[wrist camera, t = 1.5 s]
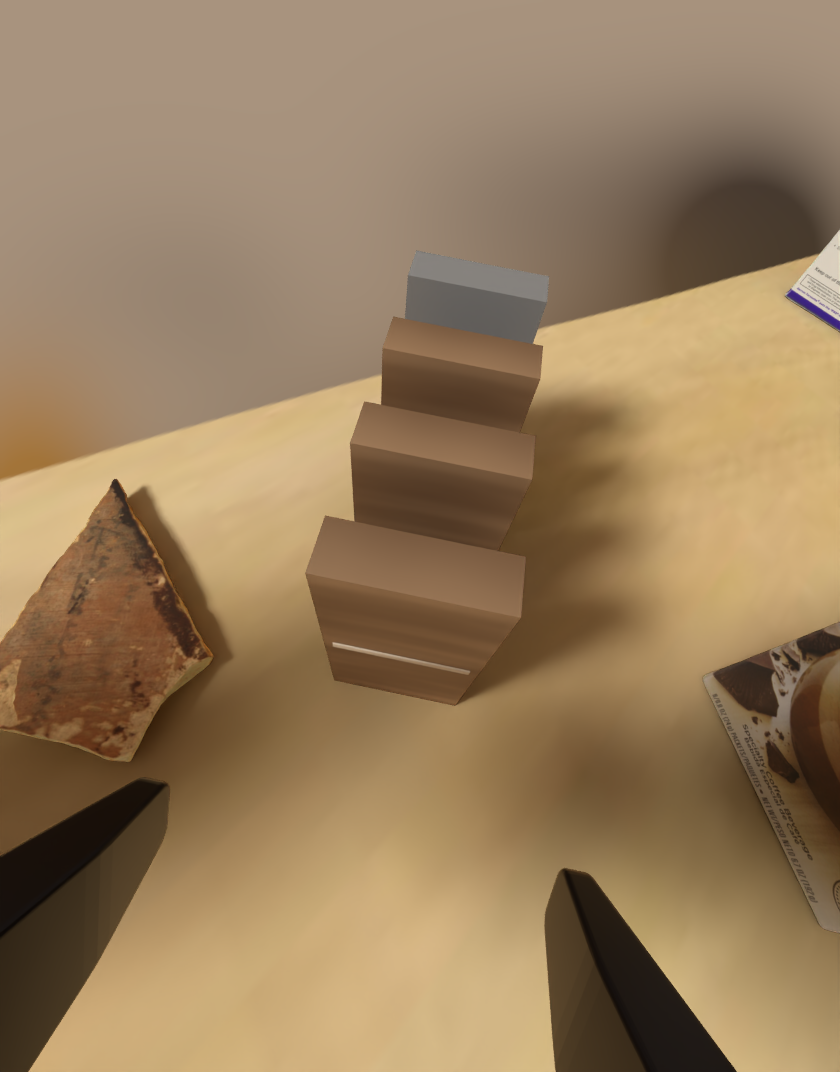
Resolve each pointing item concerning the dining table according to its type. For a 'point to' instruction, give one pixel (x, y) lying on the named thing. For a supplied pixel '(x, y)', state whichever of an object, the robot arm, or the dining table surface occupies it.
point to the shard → (99, 641)
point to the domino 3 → (438, 475)
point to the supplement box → (821, 285)
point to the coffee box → (793, 752)
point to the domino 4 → (411, 608)
